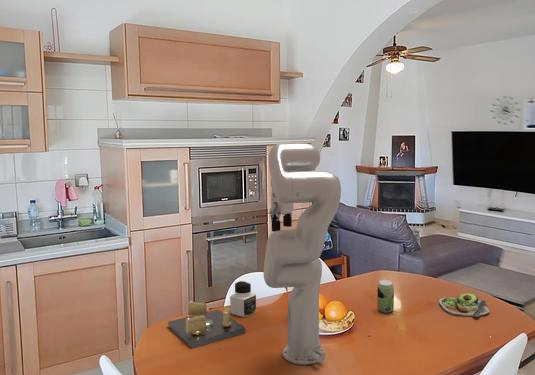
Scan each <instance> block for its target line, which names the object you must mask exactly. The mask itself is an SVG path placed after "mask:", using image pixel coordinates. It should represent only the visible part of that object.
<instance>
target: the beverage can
mask: <svg viewBox="0 0 535 375" xmlns="http://www.w3.org/2000/svg"><path fill="white" fill-rule="evenodd" d="M376 292H377V299H376V300H377V304H376V305H377V307H376V308H377V310H378V311H380V312H381V313H386V314H387V313H391V312H392V311H394V307H395V306H394V305H395V304H394V303H395V302H394V301H395V285H394V283H393V281H392V280H390V279H380V280H379V281H378V284H377V290H376Z"/></svg>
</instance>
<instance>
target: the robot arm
mask: <svg viewBox="0 0 535 375" xmlns="http://www.w3.org/2000/svg"><path fill="white" fill-rule="evenodd" d="M267 159H268V160H267V161H268V168H269V174H270V187H271V194H270V208H269V214H270V215H269V216H270V221H271V233H270V235H269V236H268V238H267V242H266V248H265V255H264V264H263V280H264V282H265V284H266V285H267V287H269V288H272V289H282V288H283V289H285V288H292V289H291V291H290V293H289V295H288V298H287V345H286V346H285V347H284V348H283V350H282V356H283V358H284V359H285V360H286V361H287V362H289V363H292V364H295V365H302V366H304V365H313V364H317V363H321V362H322V361H323V359H324V358H325V356H326V353H325V350H324V349H323V348H322V345H321V343H320V288H321V281H322V275H323V264H322V261H321V259H320V257H321V255H322V253H323V249H324V245H325V243H326V237H327V233H328V229H329V227H330V225H331V222H333V219H334V217H335V216H336V214H337V212H338V209H339V205H340V203H341V198H342V197H341V195H342V186H341V180H340V179H339V177H338V176H337V175H336V174H335V173H333V172H330V171H325V170H315V169H316V168H317V167H318V166H319V164H320V162H321V153H320V151H319V150H318V148H317V147H316V146H315V145H312V144H310V143H306V142H300V143H299V142H297V143H296V142H295V143H277V144H274V145H272V147H271V148H270V150H269V154H268V158H267ZM304 203H305V204H306V203H312V204H311V205H309V206H308V207H307V208H306V209H305V210H304V211H302V213H300V215H299V216H298V218H297V221H296V222H297V223H296V227H295V228H292V229H283V230H282V229H281V220H280V219H281V215H282V221H283V223H282V226H283V227H286V228H290V227H292V226H293V224H292V222H293V220H292V219H293V218H292V215H293V212H294V204H304Z"/></svg>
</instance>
